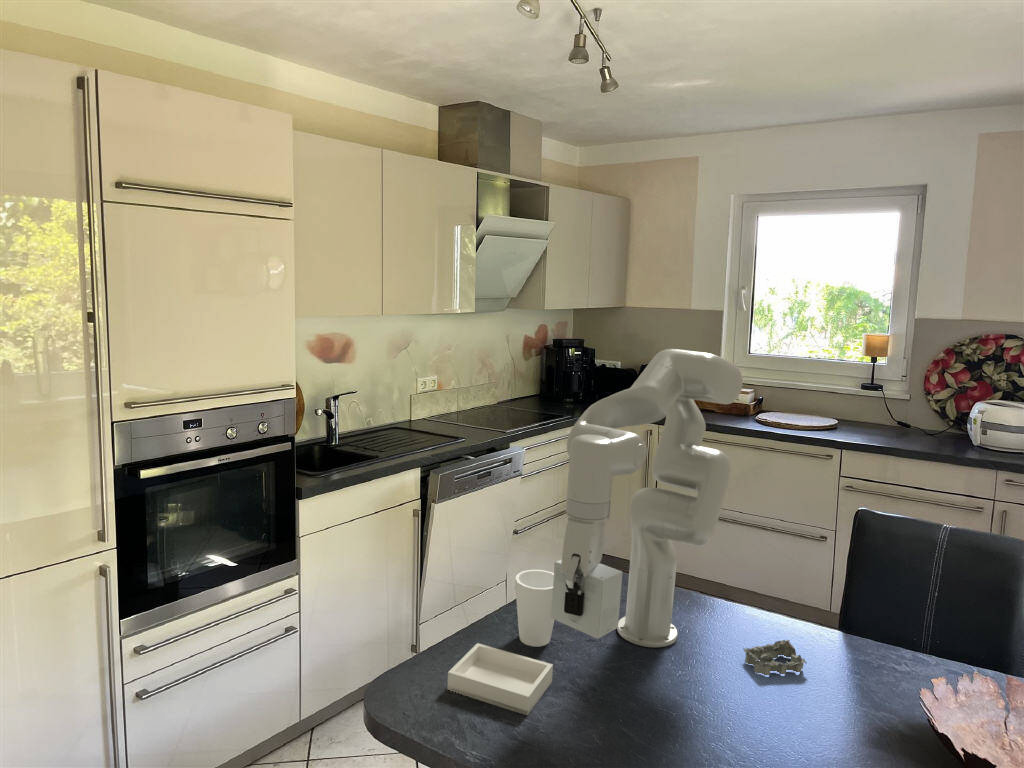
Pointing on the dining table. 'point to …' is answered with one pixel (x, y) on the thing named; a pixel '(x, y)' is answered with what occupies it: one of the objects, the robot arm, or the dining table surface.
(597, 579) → the skincare box
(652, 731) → the dining table surface
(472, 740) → the dining table surface
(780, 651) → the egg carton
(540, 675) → the trough
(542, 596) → the foam cup
